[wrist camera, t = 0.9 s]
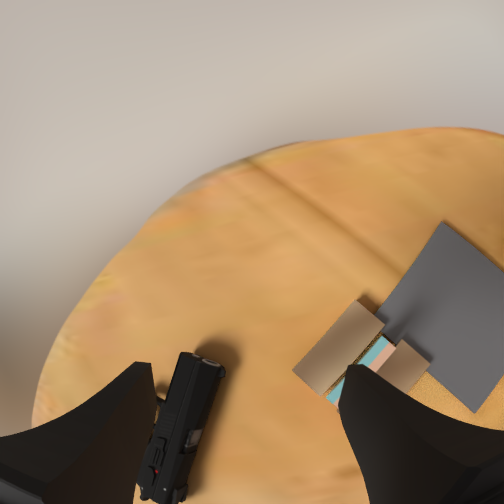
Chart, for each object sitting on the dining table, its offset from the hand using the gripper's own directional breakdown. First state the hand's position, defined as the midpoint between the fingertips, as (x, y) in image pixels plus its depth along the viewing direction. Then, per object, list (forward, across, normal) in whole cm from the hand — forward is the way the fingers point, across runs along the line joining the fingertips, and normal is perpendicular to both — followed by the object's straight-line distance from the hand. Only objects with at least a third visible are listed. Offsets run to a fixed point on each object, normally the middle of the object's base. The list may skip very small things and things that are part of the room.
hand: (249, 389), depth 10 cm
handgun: (+12, +8, +15) cm, 21 cm away
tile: (+9, -9, +6) cm, 14 cm away
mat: (+8, -17, +1) cm, 18 cm away
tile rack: (+9, -9, +6) cm, 14 cm away
